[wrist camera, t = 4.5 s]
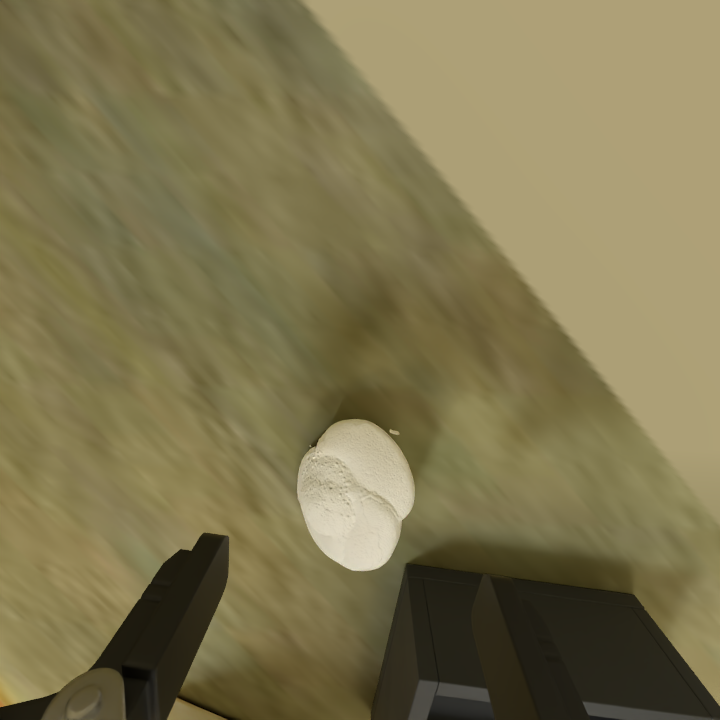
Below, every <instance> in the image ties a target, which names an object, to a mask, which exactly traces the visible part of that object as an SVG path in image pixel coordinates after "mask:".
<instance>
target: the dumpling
mask: <svg viewBox="0 0 720 720" xmlns="http://www.w3.org/2000/svg"><path fill="white" fill-rule="evenodd" d="M389 432H390V433H392V434H396V435H400V434H399V432H398V431H394V430H392V429H390V431H389ZM310 447H311V445H310ZM297 482H298V485H297V494H298V500H299V502H300V505H301V509H302V513H303V516H304V519H305V522H306V525H307V528H308V530H309V532H310V534H311V536H312V538H313V540H314V541H315V543H316V544H317V545H318V547H319V548H320V549H321V550H322V551H323V552H324V553H325V554H326V555H327V556H328V557H329V558H331V559H332V560H334V561H336V562H338V563H339V564H341V565H342V566H344V567H346V568H348V569H350V570H353V571H370V570H374V569H378V568H379V567H381V566H382V565H384V564H385V563H386V562H387V561H388V560H389V559H390V557H391V555H392V553H393V551H394V549H395V547H396V545H397V543H398V540H399V537H400V532H401V527H402V520H403V519H404V518H405V517H406V516H407V515H408V514H409V513H410V511H411V509H412V506H413V504H414V499H415V486H414V479H413V476H412V473H411V470H410V467H409V464H408V462H407V460H406V458H405V456H404V454H403V453H402V451H401V449H400V448H399V446H398V445H397V444H396V442H395V441H394V440H393V439H392V438H391V437H390V436H389V435H388V434H387V433H386V432H385V431H384V430H383V429H381V428H380V427H379V426H377V425H375V424H374V423H372V422H370V421H367V420H361V419H349V420H342V421H339V422H336V423H335V424H333V425H331V426H330V427H329V428H328V429H327V430H326V432H325V433H324V434H323V435H322V437H321V438H319V441H318V443H317V446H316V447H313V448H311V449H309V451H308V452H307V453H306V454H305V456H304V458H303V459H302V462H301V465H300V467H299V472H298V480H297Z"/></svg>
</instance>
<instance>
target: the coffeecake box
mask: <svg viewBox="0 0 720 720" xmlns="http://www.w3.org/2000/svg"><path fill="white" fill-rule="evenodd" d="M167 720H228V719H225V718H223V717H221V716H218V715H216V714H214V713H211V712H209V711H206V710H204V709H202V708H200V707H197V706H195V705H193V704H190V703H188V702H185V701H183V700H181V699H179V698H176V700H175V703H174V705H173V707H172V709H171V712H170V714H169V716H168V718H167Z"/></svg>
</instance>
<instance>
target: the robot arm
mask: <svg viewBox="0 0 720 720" xmlns="http://www.w3.org/2000/svg"><path fill="white" fill-rule="evenodd" d="M228 567H229V537H228V536H225V535H218V534H211V533H203V534H202V535H201V536H200V538H199V539H198V541H197V543H196V544H195V546H194V547H193V549H192V551H189V550H182V549H180V550H179V551H178V552H177V553H175V554H174V555H173V556H172V557H171V558H169V559H168V560H167V561H166V562H165V563H163V565H162V566H161V568H160V569H159V571H158V572H157V574H156V575H155V577H154V578H153V580H152V582H151V584H149V585H148V587H147V588H146V590H145V591H144V593H143V594H142V597H141V599H139V600H138V602H137V603H136V604H135V606H134V607H133V609H132V610H131V612H130V613H129V615H128V616H127V618H126V619H125V621H124V622H123V624H122V625H121V626H120V628H119V629H118V631H117V632H116V634H115V635H114V637H113V638H112V640H111V641H110V643H109V644H108V646H107V647H106V648H105V650H104V651H103V653H102V654H101V656H100V657H99V659H98V660H97V661H96V663H95V664H94V665H93V666H92V667H91V668H90V669H89V670H88V671H87V672H85V673H83V674H82V675H80V676H78V677H76V678H75V679H73V680H72V681H71V682H69V683H68V684H67V685H66V686H64V687H63V688H62V689H61V690H60V691H59V692H57V693H55V694H52V695H50V696H46V697H43V698H39V699H34V700H30V701H26V702H22V703H17V704H13V705H9V706H4V707H0V720H167V718H168V716H169V714H170V712H171V709H172V707H173V705H174V703H175V700H176V698H177V696H178V694H179V691H180V689H181V687H182V685H183V682H184V680H185V678H186V676H187V673H188V671H189V669H190V667H191V665H192V662H193V660H194V658H195V656H196V653H197V651H198V649H199V647H200V644H201V642H202V640H203V638H204V635H205V633H206V631H207V629H208V626H209V624H210V622H211V620H212V617H213V615H214V613H215V611H216V609H217V606H218V604H219V602H220V600H221V597H222V595H223V592H224V589H225V586H226V583H227V578H228ZM471 622H472V631H473V635H474V639H475V643H476V647H477V651H478V655H479V659H480V663H481V666H482V670H483V674H484V678H485V682H486V686H487V690H488V694H489V698H490V702H491V706H492V709H493V713H494V717H495V720H590V717H589V715H588V713H587V711H586V709H585V706H584V704H583V702H582V700H581V698H580V696H579V693H578V691H577V689H576V687H575V685H574V683H573V680H572V678H571V676H570V674H569V672H568V670H567V667H566V665H565V663H564V662H563V661H562V657H561V654H560V652H559V650H558V648H557V646H556V644H554V641H553V640H554V639H553V637H552V635H551V633H550V630H549V628H548V626H547V624H546V622H545V620H544V618H543V617H542V615H541V614H540V613H539V612H538V611H537V609H536V608H535V607H534V606H533V604H532V603H531V602H530V601H529V600H524V599H520V596H519V594H518V592H517V589H516V587H515V584H514V582H513V581H512V579H511V578H510V577H505V576H498V575H491V574H484V575H483V577H482V579H481V582H480V586H479V589H478V592H477V595H476V598H475V601H474V604H473V608H472V614H471Z"/></svg>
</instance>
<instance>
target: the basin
mask: <svg viewBox="0 0 720 720" xmlns="http://www.w3.org/2000/svg"><path fill="white" fill-rule="evenodd" d="M483 575H484V574H477V573H470V572H463V571H455V570H448V569H441V568H433V567H426V566H419V565H411V564H406V567H405V571H404V575H403V579H402V584H401V588H400V592H399V596H398V601H397V605H396V609H395V613H394V617H393V622H392V626H391V630H390V634H389V639H388V643H387V647H386V651H385V655H384V660H383V664H382V668H381V672H380V677H379V681H378V685H377V689H376V693H375V698H374V702H373V706H372V710H371V720H495V717H494V713H493V709H492V706H491V702H490V698H489V694H488V690H487V686H486V682H485V678H484V674H483V670H482V666H481V663H480V659H479V655H478V651H477V647H476V643H475V639H474V635H473V631H472V622H471V614H472V608H473V604H474V601H475V598H476V595H477V592H478V589H479V586H480V582H481V579H482V577H483ZM511 579H512V581H513V582H514V584H515V587H516V589H517V592H518V594H519V596H520V599H524V600H529V601H530V602H531V603H532V604H533V606H534V607H535V608H536V609H537V611H538V612H539V613H540V614H541V615H542V617H543V618H544V620H545V622H546V624H547V626H548V628H549V630H550V633H551V635H552V637H553V639H554V640H553V641H554V644H556V646H557V648H558V650H559V652H560V654H561V657H562V661H563V662H564V663H565V665H566V667H567V670H568V672H569V674H570V676H571V678H572V680H573V683H574V685H575V687H576V689H577V691H578V693H579V696H580V698H581V700H582V702H583V704H584V706H585V709H586V711H587V713H588V715H589V717H590V720H720V706H719V705H718V703H717V702H716V701H715V700H714V698H713V697H712V696H711V694H710V693H709V692H708V690H707V689H706V688H705V687H704V685H703V684H702V683H701V681H700V680H699V679H698V677H697V676H696V675H695V674H694V672H693V671H692V670H691V668H690V667H689V666H688V664H687V663H686V662H685V661H684V659H683V658H682V657H681V655H680V654H679V653H678V651H677V650H676V649H675V648H674V646H673V645H672V644H671V642H670V641H669V640H668V638H667V637H666V636H665V635H664V633H663V632H662V631H661V629H660V628H659V627H658V625H657V624H656V623H655V622H654V620H653V619H652V618H651V616H650V615H649V614H648V612H647V611H646V610H645V609H644V607H643V606H642V604H641V603H640V602H639V600H638V599H637V598H636V597H635V595H631V594H623V593H616V592H609V591H601V590H594V589H587V588H579V587H572V586H565V585H558V584H550V583H543V582H536V581H528V580H521V579H514V578H511Z"/></svg>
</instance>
